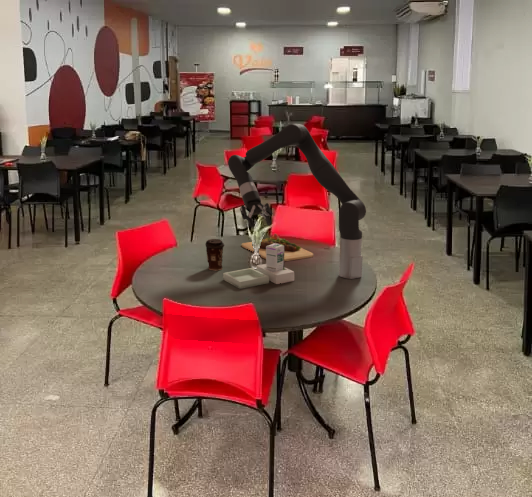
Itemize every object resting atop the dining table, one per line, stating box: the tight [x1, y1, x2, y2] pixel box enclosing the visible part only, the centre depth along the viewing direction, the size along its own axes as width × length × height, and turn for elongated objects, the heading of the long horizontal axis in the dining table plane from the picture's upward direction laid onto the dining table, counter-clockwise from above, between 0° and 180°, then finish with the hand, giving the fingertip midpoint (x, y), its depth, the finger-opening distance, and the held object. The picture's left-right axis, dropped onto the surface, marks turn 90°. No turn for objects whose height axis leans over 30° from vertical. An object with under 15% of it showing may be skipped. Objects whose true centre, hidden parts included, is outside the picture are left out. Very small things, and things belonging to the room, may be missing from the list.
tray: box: [222, 267, 270, 290], centre depth 274 cm, size 14×14×3 cm
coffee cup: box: [205, 238, 225, 272], centre depth 290 cm, size 9×8×13 cm
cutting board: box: [241, 233, 314, 262], centre depth 320 cm, size 35×23×8 cm
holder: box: [256, 263, 295, 285], centre depth 279 cm, size 16×9×4 cm, turn 33°
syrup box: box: [265, 243, 285, 272], centre depth 278 cm, size 6×6×14 cm
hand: (261, 225), depth 286 cm, fingers open, 8 cm apart
